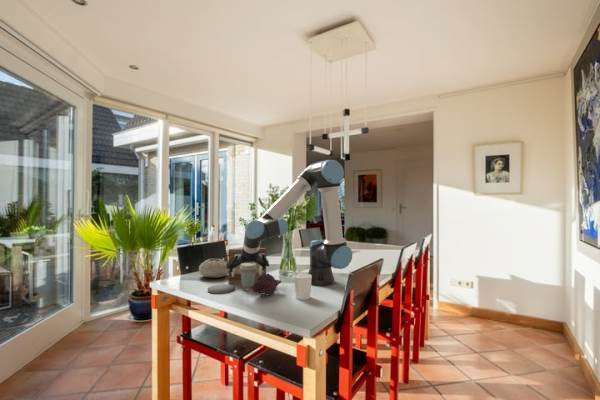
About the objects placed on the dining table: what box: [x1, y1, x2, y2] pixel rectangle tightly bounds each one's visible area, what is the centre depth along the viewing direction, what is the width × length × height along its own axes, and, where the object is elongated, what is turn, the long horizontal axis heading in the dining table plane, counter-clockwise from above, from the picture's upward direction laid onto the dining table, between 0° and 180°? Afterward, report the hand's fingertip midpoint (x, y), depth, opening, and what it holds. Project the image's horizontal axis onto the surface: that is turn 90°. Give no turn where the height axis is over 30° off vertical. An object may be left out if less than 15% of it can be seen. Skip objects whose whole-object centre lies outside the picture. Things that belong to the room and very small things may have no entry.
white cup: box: [294, 273, 312, 301], centre depth 136 cm, size 8×8×10 cm
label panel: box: [227, 247, 267, 285], centre depth 162 cm, size 6×20×18 cm, turn 102°
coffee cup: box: [240, 263, 257, 290], centre depth 151 cm, size 8×9×12 cm
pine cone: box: [250, 273, 282, 296], centre depth 139 cm, size 18×10×10 cm, turn 140°
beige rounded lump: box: [198, 258, 229, 279], centre depth 173 cm, size 18×18×10 cm
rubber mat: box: [207, 283, 236, 295], centre depth 147 cm, size 13×13×1 cm
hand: (246, 273), depth 149 cm, fingers open, 13 cm apart
